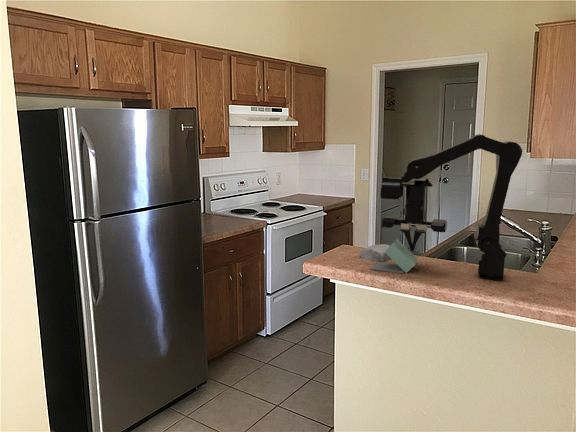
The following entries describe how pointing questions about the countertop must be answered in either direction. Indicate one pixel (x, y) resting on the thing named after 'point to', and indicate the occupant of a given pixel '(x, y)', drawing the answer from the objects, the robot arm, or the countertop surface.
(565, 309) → the countertop surface
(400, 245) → the slab
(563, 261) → the countertop surface
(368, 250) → the stone block
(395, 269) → the mat
